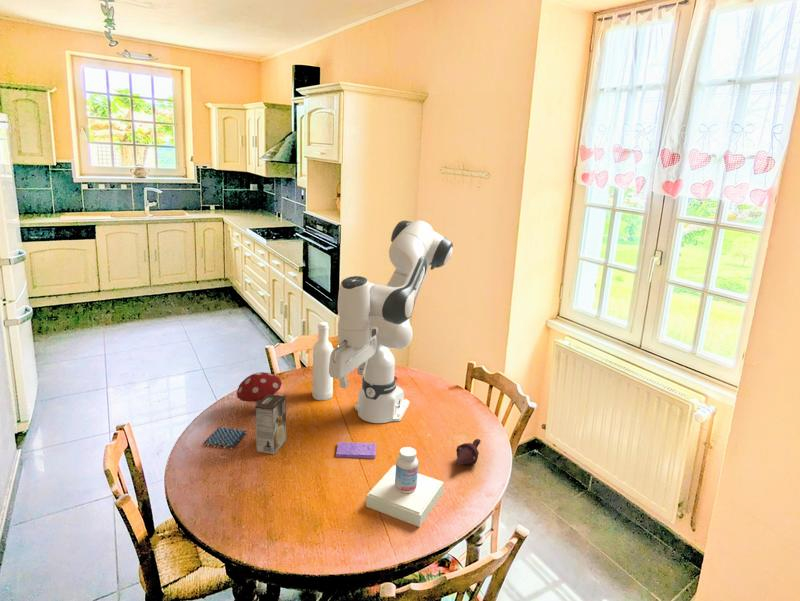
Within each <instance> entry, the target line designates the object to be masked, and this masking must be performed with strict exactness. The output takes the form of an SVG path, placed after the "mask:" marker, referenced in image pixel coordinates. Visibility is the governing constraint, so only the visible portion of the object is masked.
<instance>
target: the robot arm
mask: <svg viewBox="0 0 800 601" xmlns="http://www.w3.org/2000/svg"><path fill="white" fill-rule="evenodd" d="M390 241H391V244H390V246H389V249H388V256H389V257H388V258H389V261H390V262H391V264H392V265H393V267H395V270H394V271H393V274H392V275H391V277H390V279H389V281H388V282H387V284H386V285H383V284H380V283H379V284H378V283H375V282H371V281H369V279H368V278H366V277H364V276H360V275H354V276H349V277H346V278H343V279H342V280H341V282H340V284H339V289H338V295H337V296H338V297H337V313H338V322H337V343H338V344H336V345H335V346H334V348H333V351H332V352H331V355H330V363H329V375H330V376H331V377H333V379H337V380H339V382H340V384H339V386H340V388H341V389H345V390H346V388H348V387H349V380H347V377H348V375H349V374H350V373H352V372H353V371H354V370H355V369H357V375H358V376H362V380H361V388H360V389H359V392H358V400H357V403H356V404H355V405H354V409H355V411H357V416H358V417H359V418H360V419H361V420H363V421H365V422H368V423H372V424H386V423H391V422H400V421H401V420H402V418H403V416H404V415H405V413H406V411H407V410H408V408H409V406H410V400H409V399H407V398H405V393H404V392H405V391H404V389H402V388H401V387H400V386H398V385H397V382H398V381H399V379H400V375H397V374H395V373H396V372H395V368H396V359H395V356H394V355H393V353H392V351H391V350H398V351H399V350H400V351H401V350H404V349H406V348H407V347H408V346H409V345H410V344H411V342H412V339H413V336H414V333H413V332H414V331H413V328H412V324H411V320H410V318H411V317H412V314H413V312H414V307H415V304H416V300H417V297H418V294H419V292H420V290H421V287H422V285H423V283H424V282H425V279H426V277H427V274H428V271H429V268H430V270H431V271H433V270H434V269H438V268H441V267H443V266H444V265H446V264H447V263H448V262H449V261H450V260H451V257H452V256H453V252H454V251H453V250H454V244H453V241H452V240H451V239H449V238H448V237H447V236H443V235H441V234H440V233H438V232H436V231H434V229H433V227H432V225H430V224H429V223H428V222H426V221H424V220H414V221H409V220H401V221H399V222H398V223H397V224H396V225H395V226H394V228H393V230H392V232H391V238H390ZM390 349H391V350H390ZM396 381H397V382H396Z"/></svg>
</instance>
